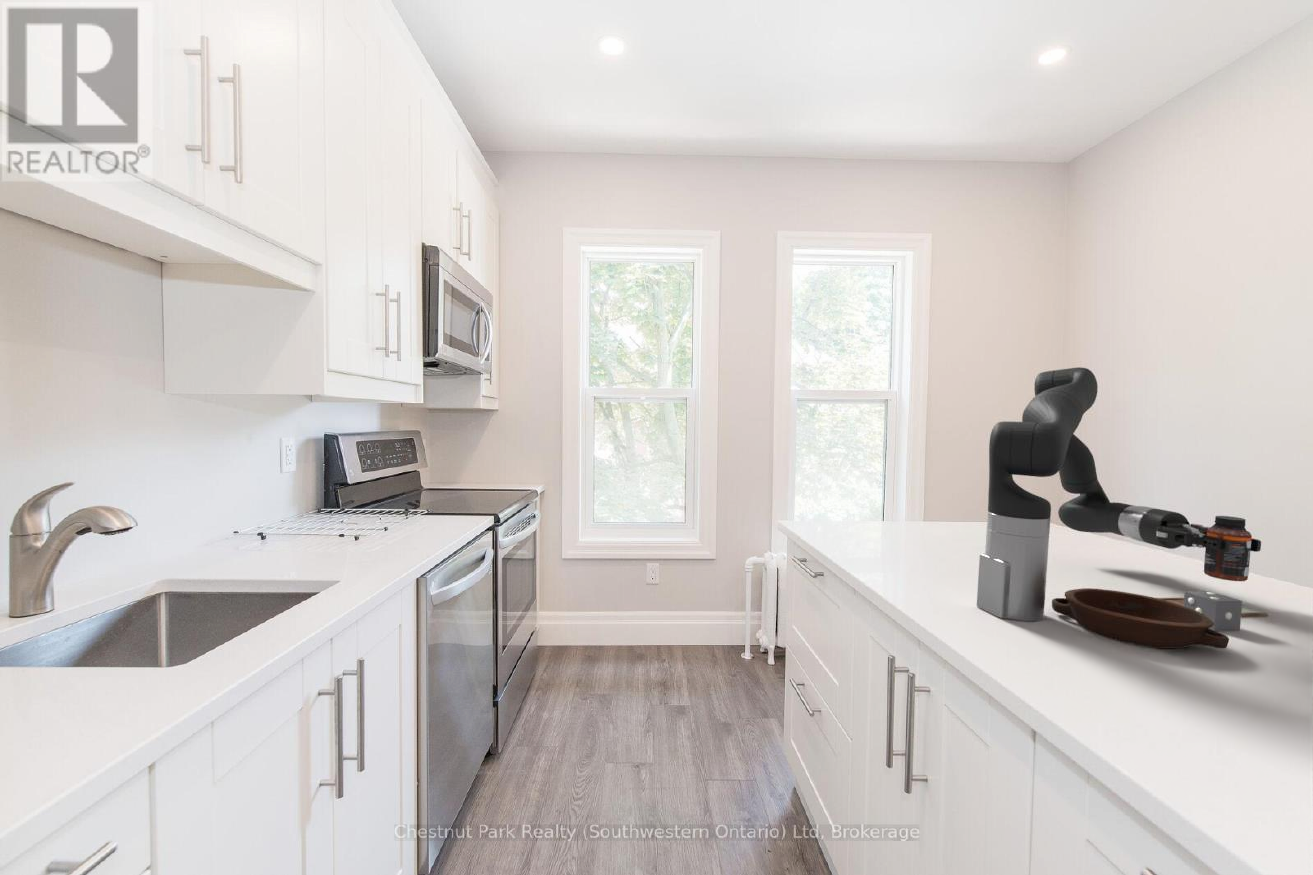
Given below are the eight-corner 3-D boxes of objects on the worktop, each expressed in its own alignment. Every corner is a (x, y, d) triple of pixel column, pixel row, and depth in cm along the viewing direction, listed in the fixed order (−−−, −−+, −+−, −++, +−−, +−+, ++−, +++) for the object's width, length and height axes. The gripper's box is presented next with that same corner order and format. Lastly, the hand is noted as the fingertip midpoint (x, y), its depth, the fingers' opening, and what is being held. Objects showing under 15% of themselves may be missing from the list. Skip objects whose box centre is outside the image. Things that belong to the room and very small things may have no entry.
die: (1214, 631, 95) (1216, 600, 95) (1181, 620, 100) (1184, 590, 100) (1240, 630, 96) (1243, 600, 95) (1207, 619, 101) (1209, 590, 101)
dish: (1227, 674, 79) (1230, 639, 79) (1038, 628, 95) (1040, 598, 94) (1227, 641, 91) (1230, 610, 91) (1060, 605, 107) (1062, 578, 107)
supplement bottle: (1257, 583, 105) (1263, 521, 104) (1224, 582, 105) (1230, 520, 104) (1226, 573, 111) (1231, 514, 110) (1194, 572, 111) (1199, 513, 110)
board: (1166, 618, 101) (1166, 615, 101) (1118, 601, 110) (1119, 598, 110) (1267, 616, 104) (1268, 613, 104) (1213, 599, 113) (1213, 597, 113)
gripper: (1123, 508, 120) (1212, 525, 103) (1183, 508, 122) (1279, 525, 106) (1121, 543, 121) (1208, 567, 104) (1180, 543, 123) (1275, 566, 106)
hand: (1243, 546), depth 105 cm, fingers closed on supplement bottle, 6 cm apart
